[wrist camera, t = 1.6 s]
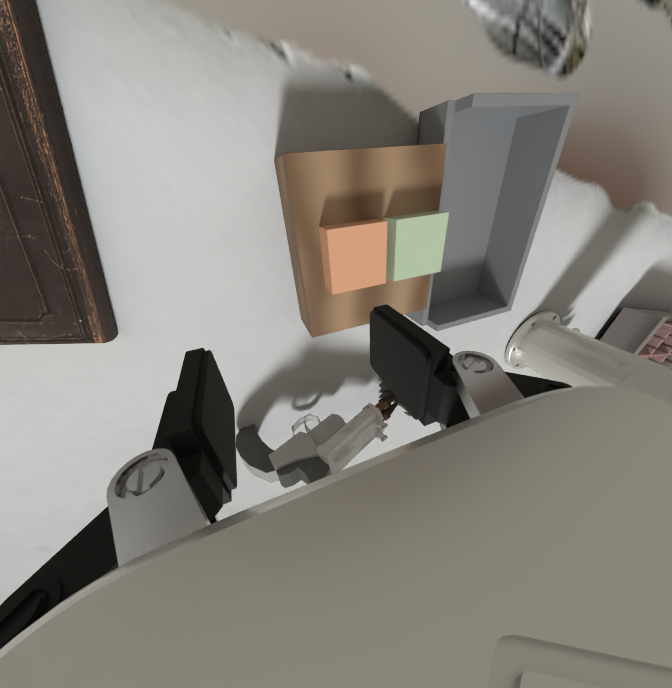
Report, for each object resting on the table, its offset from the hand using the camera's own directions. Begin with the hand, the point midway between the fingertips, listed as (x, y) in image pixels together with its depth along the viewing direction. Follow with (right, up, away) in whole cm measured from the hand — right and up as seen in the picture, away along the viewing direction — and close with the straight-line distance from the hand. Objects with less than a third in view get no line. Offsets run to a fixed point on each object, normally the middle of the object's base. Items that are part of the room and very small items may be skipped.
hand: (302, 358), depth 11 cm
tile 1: (+9, +11, +15) cm, 21 cm away
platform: (+3, +12, +18) cm, 22 cm away
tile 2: (+3, +9, +14) cm, 17 cm away
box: (+17, +16, +22) cm, 32 cm away
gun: (0, -9, +30) cm, 32 cm away
